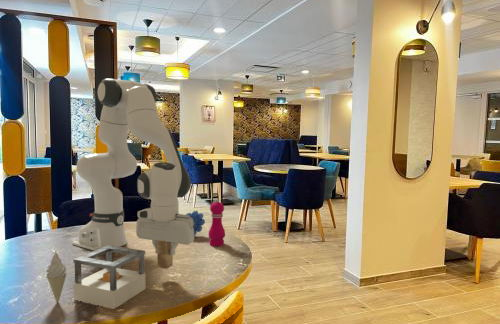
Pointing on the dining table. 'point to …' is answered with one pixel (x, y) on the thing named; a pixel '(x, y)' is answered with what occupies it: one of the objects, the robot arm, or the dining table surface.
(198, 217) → the blue flower gear
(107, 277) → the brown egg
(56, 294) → the ice cream cone
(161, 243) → the wooden toy block
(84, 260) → the guard frame
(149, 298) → the dining table surface
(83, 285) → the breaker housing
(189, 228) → the robot arm
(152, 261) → the dining table surface
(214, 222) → the pepper mill
